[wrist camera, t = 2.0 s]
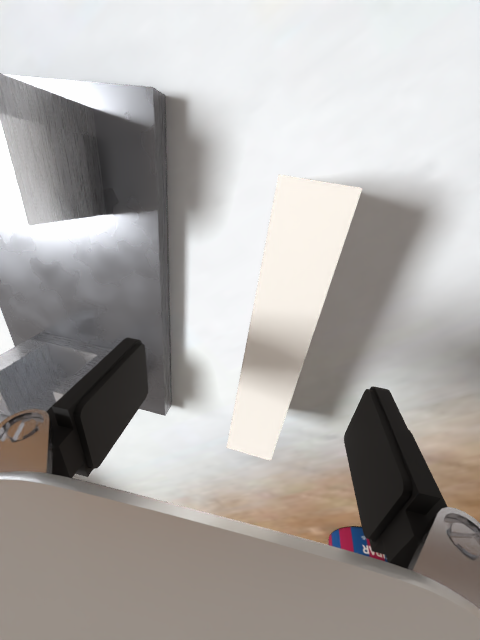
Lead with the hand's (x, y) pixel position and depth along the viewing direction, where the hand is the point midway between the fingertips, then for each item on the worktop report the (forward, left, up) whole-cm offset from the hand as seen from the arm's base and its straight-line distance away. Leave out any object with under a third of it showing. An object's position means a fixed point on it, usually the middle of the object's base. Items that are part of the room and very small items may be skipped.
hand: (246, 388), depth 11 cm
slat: (-1, 0, -8) cm, 8 cm away
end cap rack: (+14, 0, -7) cm, 16 cm away
